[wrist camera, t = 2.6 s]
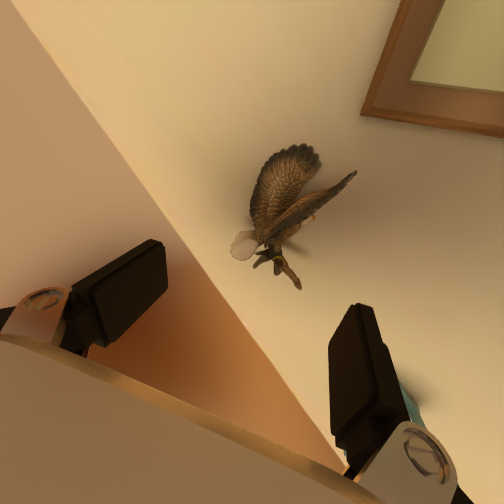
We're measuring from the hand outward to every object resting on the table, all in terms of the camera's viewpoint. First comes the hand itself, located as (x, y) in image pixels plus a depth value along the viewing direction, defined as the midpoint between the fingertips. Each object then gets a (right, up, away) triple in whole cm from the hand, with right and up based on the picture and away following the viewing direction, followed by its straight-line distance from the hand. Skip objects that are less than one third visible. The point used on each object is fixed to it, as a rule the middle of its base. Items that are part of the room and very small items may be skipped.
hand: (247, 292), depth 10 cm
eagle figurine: (+4, +6, +8) cm, 11 cm away
